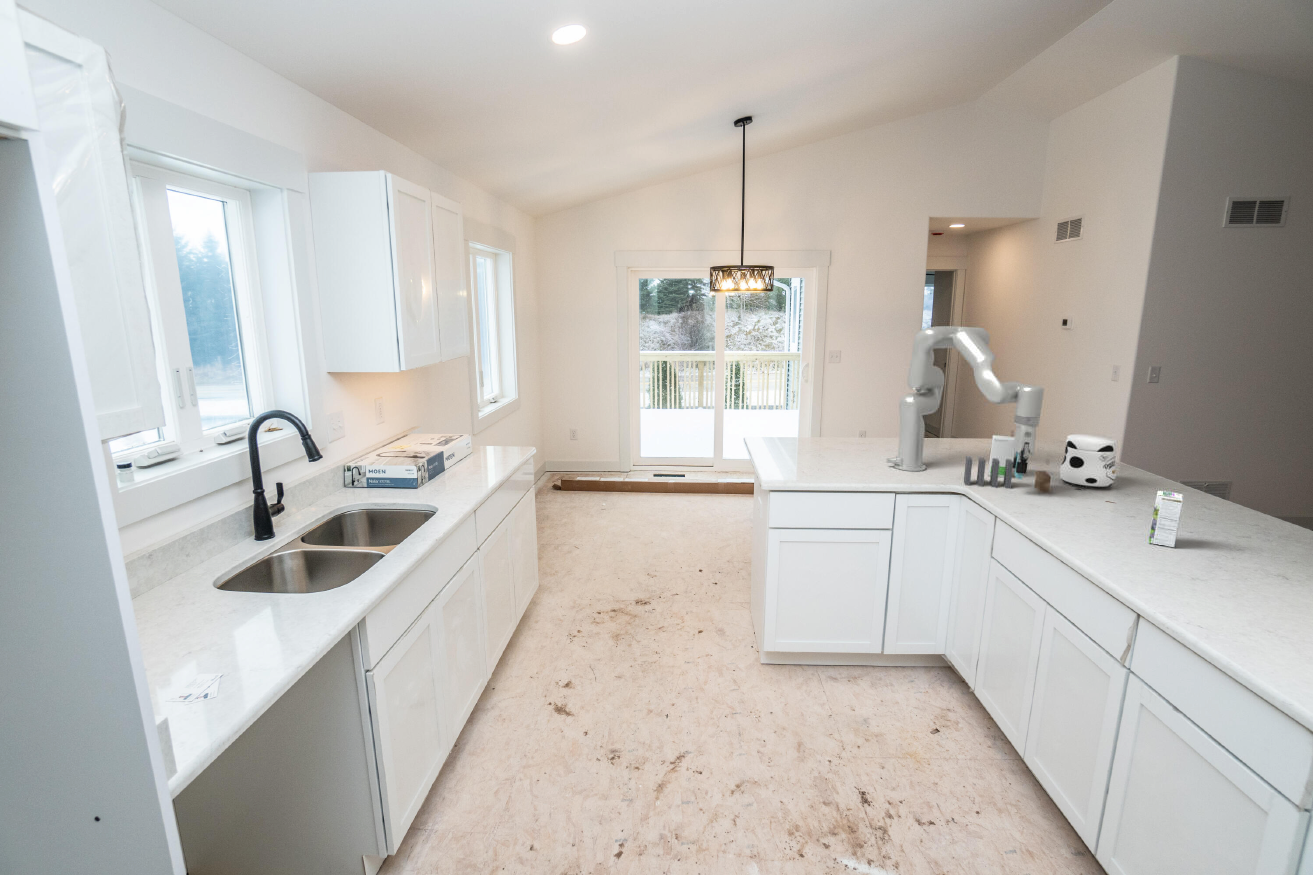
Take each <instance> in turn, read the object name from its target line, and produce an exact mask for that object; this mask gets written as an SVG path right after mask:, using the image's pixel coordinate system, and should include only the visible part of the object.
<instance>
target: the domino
mask: <svg viewBox="0 0 1313 875" xmlns="http://www.w3.org/2000/svg"><path fill="white" fill-rule="evenodd" d="M1021 453H1024V452H1021ZM1022 456H1023V455H1021V457H1022ZM1018 458H1019V453H1018V455H1017V462H1018ZM1017 462H1016V466H1017ZM1014 476H1015V479H1017V480H1023V477H1024V474H1023V473H1016V468H1015V470H1014Z"/></svg>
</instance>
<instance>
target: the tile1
mask: <svg viewBox="0 0 1313 875" xmlns="http://www.w3.org/2000/svg"><path fill="white" fill-rule="evenodd" d="M964 463H965V464H964V465H965V466H964V474H963V475H964V476H963V484H964V485H965V486H971V480H972V479H971V478H972V468H973V458H972V456H966V457H965V462H964Z"/></svg>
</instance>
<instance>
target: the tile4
mask: <svg viewBox="0 0 1313 875" xmlns="http://www.w3.org/2000/svg"><path fill="white" fill-rule="evenodd" d="M1013 470H1014V469H1013V461H1012V460H1011V459H1006V463H1005V473H1004V477H1003V482H1002V483H1003V484H1002V485H1003V486H1004V488H1005V489H1011V488H1012V479H1013V478H1012V476H1013Z"/></svg>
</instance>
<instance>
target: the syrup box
mask: <svg viewBox="0 0 1313 875" xmlns="http://www.w3.org/2000/svg"><path fill="white" fill-rule="evenodd" d="M1183 502H1184V494H1181V493H1178V492H1174V491H1172V492H1171V491H1167V490H1158V491H1157V492H1156V499H1155V502H1154V503H1155V504H1154V507H1153V512H1152V516H1151V517H1152V518H1151V522H1150V530H1149V537H1148V542H1149V543H1154V544H1159V545H1166V546H1172V547H1174V548H1175V546H1176V541H1177V536H1178V529H1179V526H1180V520H1181V514H1182V509H1183ZM1149 543H1148V544H1149Z"/></svg>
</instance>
